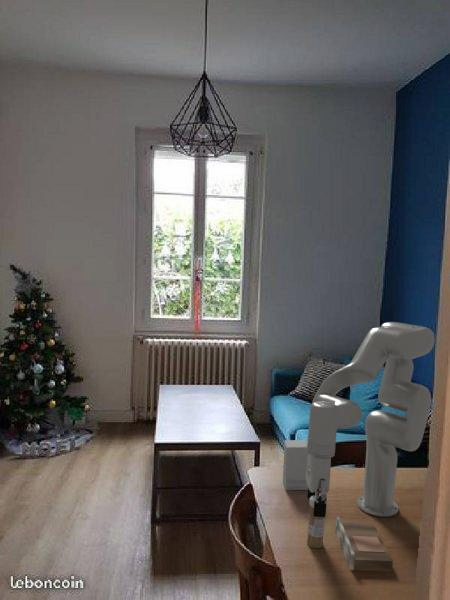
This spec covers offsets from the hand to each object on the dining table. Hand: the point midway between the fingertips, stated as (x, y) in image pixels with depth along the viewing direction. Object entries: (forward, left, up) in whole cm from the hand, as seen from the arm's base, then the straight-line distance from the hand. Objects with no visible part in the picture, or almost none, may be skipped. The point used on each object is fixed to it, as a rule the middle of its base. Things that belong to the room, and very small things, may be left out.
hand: (316, 507), depth 143 cm
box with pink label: (+2, +14, -11) cm, 18 cm away
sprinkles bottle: (-1, +1, -11) cm, 11 cm away
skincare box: (-35, 0, -11) cm, 36 cm away
